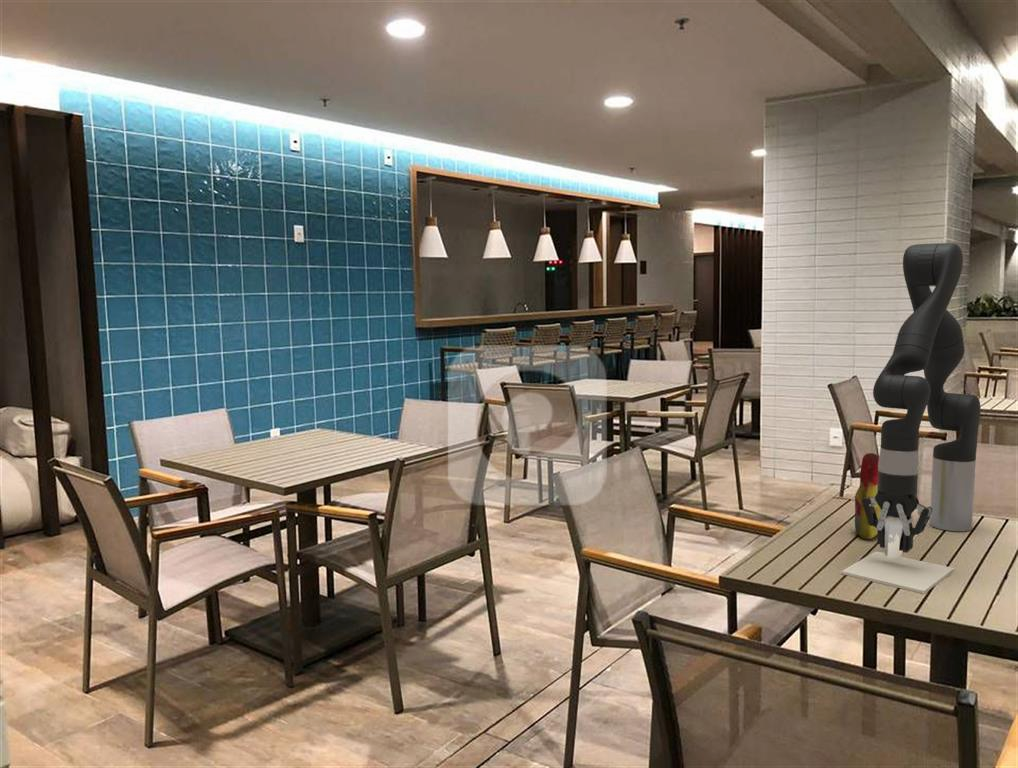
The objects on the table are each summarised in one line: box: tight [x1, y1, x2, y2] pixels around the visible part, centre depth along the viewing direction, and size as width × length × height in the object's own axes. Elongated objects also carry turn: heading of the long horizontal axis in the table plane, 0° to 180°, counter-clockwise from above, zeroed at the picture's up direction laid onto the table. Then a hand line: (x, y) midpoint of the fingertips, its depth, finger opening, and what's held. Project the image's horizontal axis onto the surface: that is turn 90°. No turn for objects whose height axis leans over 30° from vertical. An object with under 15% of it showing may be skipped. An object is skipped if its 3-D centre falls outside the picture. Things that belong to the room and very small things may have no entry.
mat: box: [841, 550, 955, 595], centre depth 166 cm, size 18×16×1 cm
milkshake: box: [884, 512, 913, 560], centre depth 169 cm, size 4×5×10 cm
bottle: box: [854, 452, 882, 540], centre depth 191 cm, size 12×6×20 cm, turn 150°
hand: (894, 548), depth 169 cm, fingers closed on milkshake, 4 cm apart
